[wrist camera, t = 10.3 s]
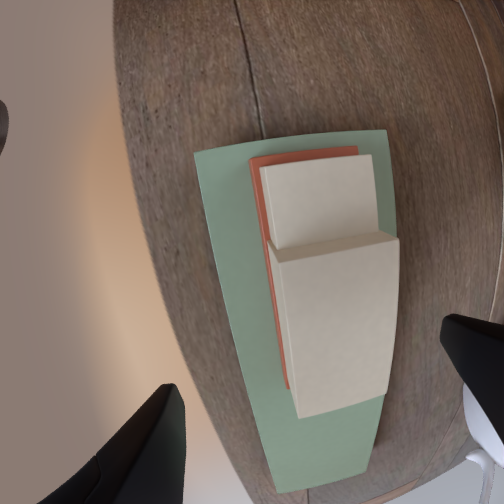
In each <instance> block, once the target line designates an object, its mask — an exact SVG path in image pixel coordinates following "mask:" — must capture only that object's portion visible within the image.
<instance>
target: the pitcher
mask: <svg viewBox="0 0 504 504" xmlns="http://www.w3.org/2000/svg"><path fill="white" fill-rule="evenodd" d="M463 402H464V411H465V417H466V422H467V425H468V428H469V430H470V433H471V435H472V437H473V439H474V440H475V442H476V443H477V445H478V446H479V449H476V450H474V451H471V452H470V453H468V454H467V455H466V458H467V459H470V460H473V461H475V462H477V463H479V464H480V465H481V467H482V470H483V478H484V479H483V487H482V492H481V496H480V501H479V504H488V503H489V498H490V493H491V489H492V483H493V477H494V465H495V464H497V465H498V466H500V467H501V468H503V469H504V445H503V443H502V442H501V440H500V438H499V436H498V434H497V433H496V431H495V429H494V428H493V426H492V424H491V423H490V421H489V419H488V418H487V416H486V414H485V413H484V411H483V410H482V408H481V406H480V405H479V403H478V402H477V400H476V399H475V397H474V396H473V394H472V393H471V391H470V390H469V388H468V387H467V385H466V384H465V382H464V386H463Z"/></svg>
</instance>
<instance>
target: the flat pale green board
mask: <svg viewBox="0 0 504 504" xmlns="http://www.w3.org/2000/svg"><path fill="white" fill-rule="evenodd" d="M343 146H358V151H359V155H366V154H371V155H372V162H373V170H374V179H375V188H376V199H377V211H378V227H379V230H381V231H383V232H385V233H387V234H389V235H392V236H394V237H396V238H397V232H396V211H395V196H394V184H393V174H392V166H391V158H390V150H389V143H388V137H387V131H386V130H359V131H341V132H327V133H316V134H306V135H296V136H288V137H280V138H272V139H265V140H258V141H252V142H245V143H240V144H234V145H228V146H223V147H217V148H212V149H207V150H202V151H198V152H194V158H195V163H196V169H197V174H198V179H199V184H200V190H201V195H202V200H203V205H204V210H205V215H206V220H207V225H208V229H209V234H210V239H211V244H212V248H213V253H214V258H215V262H216V267H217V271H218V276H219V280H220V284H221V289H222V293H223V297H224V302H225V306H226V310H227V314H228V318H229V322H230V327H231V331H232V335H233V339H234V343H235V347H236V351H237V355H238V358H239V362H240V366H241V370H242V374H243V378H244V381H245V385H246V389H247V392H248V396H249V400H250V403H251V407H252V411H253V414H254V418H255V421H256V425H257V428H258V432H259V435H260V438H261V442H262V445H263V448H264V452H265V455H266V458H267V462H268V465H269V468H270V471H271V475H272V478H273V481H274V484H275V487H276V490H277V493H278V494H282V493H287V492H293V491H298V490H303V489H307V488H312V487H316V486H320V485H324V484H328V483H331V482H335V481H339V480H342V479H345V478H349V477H352V476H355V475H358V474H361V473H364V472H366V469H367V466H368V462H369V459H370V455H371V452H372V448H373V444H374V441H375V437H376V433H377V428H378V424H379V420H380V415H381V410H382V406H383V400H384V395H385V394H383V395H381V396H378V397H375V398H372V399H369V400H366V401H363V402H360V403H357V404H354V405H350V406H347V407H344V408H340V409H337V410H333V411H330V412H326V413H322V414H318V415H314V416H310V417H306V418H301V419H299V418H298V415H297V412H296V408H295V404H294V401H293V397H292V393H291V390H290V389H286V385H285V381H284V377H283V371H282V365H281V358H280V352H279V345H278V339H277V332H276V326H275V319H274V313H273V307H272V300H271V294H270V288H269V282H268V276H267V269H266V263H265V257H264V251H263V245H262V239H261V233H260V227H259V221H258V215H257V209H256V203H255V198H254V192H253V186H252V180H251V174H250V169H249V163H248V160H249V159H250V158H253V157H259V156H266V155H273V154H280V153H287V152H295V151H303V150H312V149H321V148H331V147H343Z"/></svg>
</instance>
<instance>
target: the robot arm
mask: <svg viewBox="0 0 504 504" xmlns="http://www.w3.org/2000/svg"><path fill="white" fill-rule="evenodd" d="M440 342H441V344H442V346H443V347H444V349H445V351H446V352H447V354H448V356H449V358H450V359H451V361H452V363H453V365H454V366H455V368H456V370H457V372H458V373H459V375H460V376H461V378H462V379H463V381H464V382H465V384H466V385H467V387H468V388H469V390H470V391H471V393H472V394H473V396H474V397H475V399H476V400H477V402H478V403H479V405H480V406H481V408H482V410H483V411H484V413H485V414H486V416H487V418H488V419H489V421H490V423H491V424H492V426H493V428H494V429H495V431H496V433H497V434H498V436H499V438H500V440H501V442H502V443H503V445H504V325H501V324H497V323H492V322H488V321H484V320H479V319H475V318H471V317H467V316H462V315H458V314H450V315H448V316H445V317H444V319H443V321H442V327H441V332H440ZM185 459H186V427H185V405H184V401H183V399H182V397H181V395H180V393H179V390H178V388H177V386H176V385H175V384H173V383H170V384H162V385H161V386H160V387H159V388H158V389H157V390H156V391H155V392H154V393H153V394H152V395H151V396H150V397H149V398H148V400H147V401H146V402H145V403H144V404H143V405H142V406H141V407H140V408H139V409H138V410H137V411H136V412H135V414H134V415H133V416H132V417H131V418H130V419H129V420H128V421H127V422H126V423H125V424H124V425H123V426H122V427H121V428H120V429H119V430H118V431H117V433H115V435H114V436H113V437H112V438H111V439H110V440H109V441H108V442H107V443H106V444H105V445H104V446H103V447H102V448H101V449H100V450H99V451H98V452H97V453H96V456H93V457H92V458H91V459H90V461H88V462H87V463H86V464H85V465H84V466H83V467H82V468H81V469H80V470H79V471H78V472H77V473H76V474H75V475H73V476H72V477H71V478H70V479H69V480H67V481H66V482H65V483H64V484H63V485H61V486H60V487H59V488H58V489H56V490H55V491H54V492H52V493H51V494H50V495H48V496H47V497H46V498H44V499H43V500H42V501H40V502H39V503H37V504H183V487H184V474H185V461H186V460H185Z"/></svg>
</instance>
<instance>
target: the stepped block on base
mask: <svg viewBox="0 0 504 504" xmlns="http://www.w3.org/2000/svg"><path fill="white" fill-rule="evenodd" d="M248 163H249V169H250V174H251V180H252V186H253V192H254V198H255V203H256V209H257V215H258V221H259V227H260V233H261V239H262V245H263V251H264V257H265V263H266V269H267V276H268V282H269V288H270V294H271V300H272V307H273V313H274V319H275V326H276V332H277V339H278V345H279V352H280V358H281V365H282V371H283V377H284V381H285V385H286V389H290V390H291V393H292V397H293V401H294V404H295V408H296V412H297V415H298V418H299V419H301V418H306V417H310V416H314V415H318V414H322V413H326V412H330V411H333V410H337V409H340V408H344V407H347V406H350V405H354V404H357V403H360V402H363V401H366V400H369V399H372V398H375V397H378V396H381V395H383V394H386V393H387V389H388V383H389V377H390V371H391V364H392V357H393V350H394V341H395V332H396V322H397V309H398V292H399V239H398V238H396V237H394V236H392V235H389V234H387V233H385V232H383V231H381V230H379V227H378V211H377V199H376V188H375V179H374V170H373V162H372V155H371V154H366V155H359V151H358V146H343V147H331V148H321V149H312V150H303V151H295V152H287V153H280V154H273V155H266V156H259V157H253V158H250V159H249V160H248Z"/></svg>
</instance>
